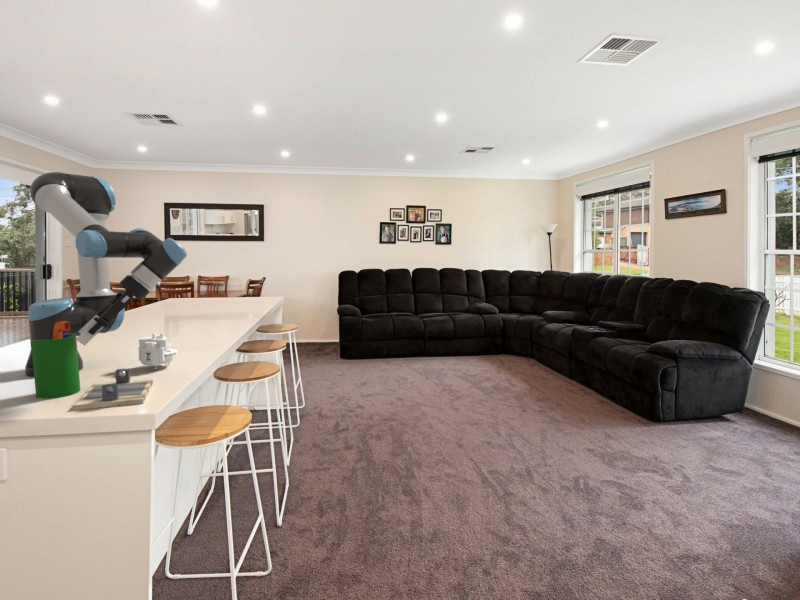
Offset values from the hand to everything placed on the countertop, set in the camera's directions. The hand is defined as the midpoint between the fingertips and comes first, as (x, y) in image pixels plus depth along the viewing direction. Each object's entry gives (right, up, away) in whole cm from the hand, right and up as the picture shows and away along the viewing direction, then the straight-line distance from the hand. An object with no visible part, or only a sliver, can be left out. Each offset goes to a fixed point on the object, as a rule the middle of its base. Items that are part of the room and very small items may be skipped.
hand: (81, 338), depth 127 cm
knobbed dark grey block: (+14, -15, -9) cm, 22 cm away
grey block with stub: (+8, -13, +5) cm, 17 cm away
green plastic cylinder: (-6, -15, 0) cm, 16 cm away
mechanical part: (+6, -12, +29) cm, 32 cm away
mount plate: (+11, -15, -2) cm, 19 cm away
